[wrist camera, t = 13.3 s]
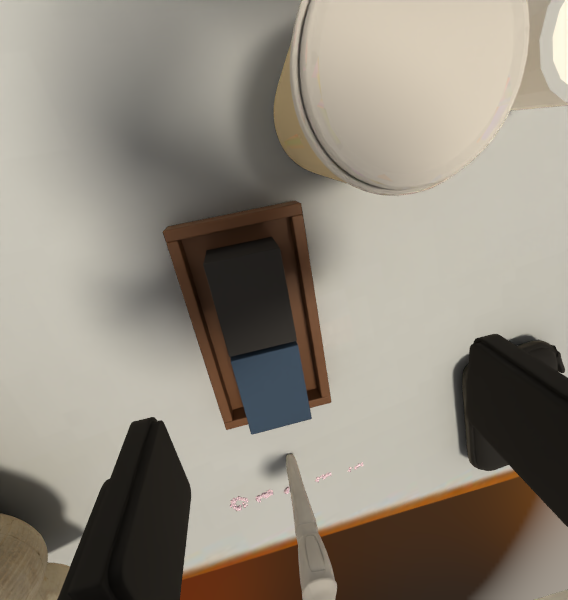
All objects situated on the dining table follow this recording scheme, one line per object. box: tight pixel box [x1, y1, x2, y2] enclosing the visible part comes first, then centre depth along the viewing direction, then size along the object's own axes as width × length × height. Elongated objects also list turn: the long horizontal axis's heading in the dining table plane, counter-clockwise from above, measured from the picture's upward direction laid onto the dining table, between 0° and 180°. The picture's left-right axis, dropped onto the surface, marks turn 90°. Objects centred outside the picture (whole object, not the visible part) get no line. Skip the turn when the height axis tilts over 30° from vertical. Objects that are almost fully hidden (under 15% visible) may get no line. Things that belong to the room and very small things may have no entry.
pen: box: [286, 454, 337, 600], centre depth 27 cm, size 2×3×14 cm
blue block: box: [231, 341, 312, 434], centre depth 27 cm, size 7×5×4 cm
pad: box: [203, 237, 297, 357], centre depth 24 cm, size 7×5×4 cm
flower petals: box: [230, 463, 363, 511], centre depth 35 cm, size 15×2×1 cm, turn 102°
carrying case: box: [462, 340, 565, 471], centre depth 34 cm, size 11×3×15 cm
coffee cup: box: [274, 0, 530, 195], centre depth 17 cm, size 9×9×12 cm
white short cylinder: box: [510, 0, 568, 111], centre depth 21 cm, size 7×7×7 cm
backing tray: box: [163, 201, 331, 430], centre depth 27 cm, size 18×10×2 cm, turn 10°
